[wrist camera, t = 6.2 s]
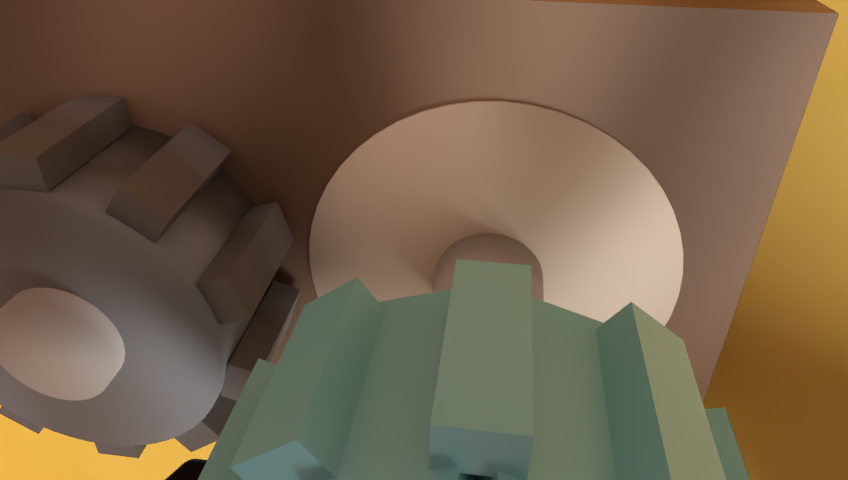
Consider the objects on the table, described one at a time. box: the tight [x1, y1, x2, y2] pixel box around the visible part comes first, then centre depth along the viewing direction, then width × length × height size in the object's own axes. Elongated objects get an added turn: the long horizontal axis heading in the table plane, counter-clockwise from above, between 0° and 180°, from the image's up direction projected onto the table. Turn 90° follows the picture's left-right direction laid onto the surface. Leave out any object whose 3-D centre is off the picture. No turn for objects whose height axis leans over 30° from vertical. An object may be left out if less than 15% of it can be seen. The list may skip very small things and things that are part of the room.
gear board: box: [0, 0, 838, 458], centre depth 13 cm, size 17×11×5 cm, turn 89°
